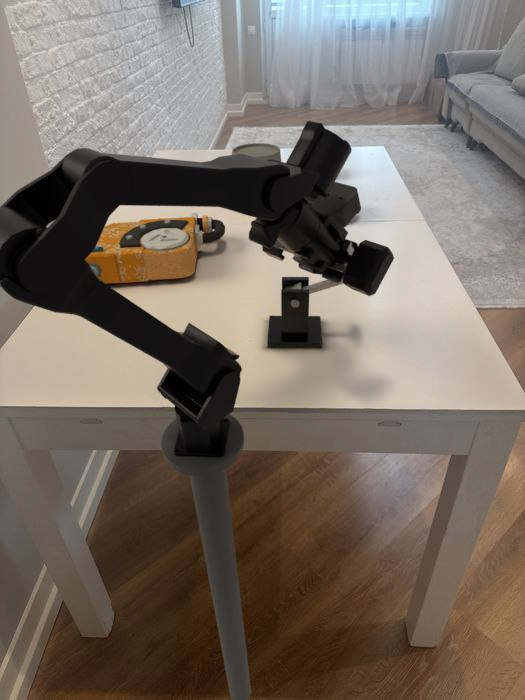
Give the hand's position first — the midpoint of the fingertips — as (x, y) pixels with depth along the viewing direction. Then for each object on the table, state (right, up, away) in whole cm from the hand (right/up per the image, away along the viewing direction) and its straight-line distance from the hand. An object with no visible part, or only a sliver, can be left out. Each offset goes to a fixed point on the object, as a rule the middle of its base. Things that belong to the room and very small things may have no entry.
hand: (345, 274), depth 73 cm
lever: (-2, -2, +6) cm, 6 cm away
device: (-35, +8, +35) cm, 50 cm away
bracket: (-7, -9, +11) cm, 16 cm away
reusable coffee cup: (-14, +26, +58) cm, 65 cm away
